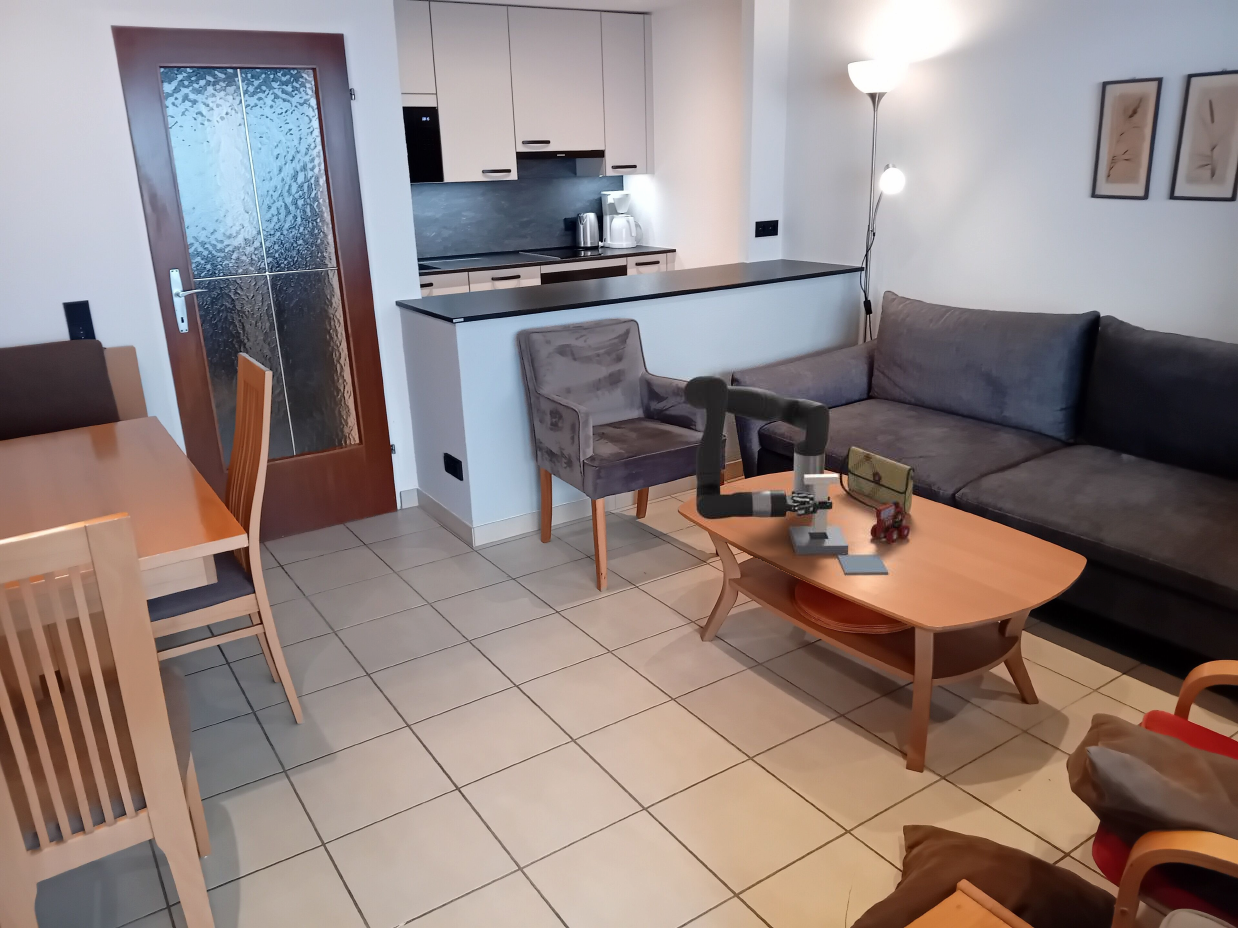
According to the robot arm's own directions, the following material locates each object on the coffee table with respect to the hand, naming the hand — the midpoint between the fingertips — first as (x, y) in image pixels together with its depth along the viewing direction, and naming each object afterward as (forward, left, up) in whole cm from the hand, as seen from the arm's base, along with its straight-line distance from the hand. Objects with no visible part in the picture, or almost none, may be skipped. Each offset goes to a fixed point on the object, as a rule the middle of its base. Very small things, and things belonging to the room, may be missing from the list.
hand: (830, 502), depth 243 cm
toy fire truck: (-17, +6, -13) cm, 22 cm away
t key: (+2, -1, -8) cm, 8 cm away
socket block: (+3, -1, -12) cm, 13 cm away
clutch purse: (-32, -17, -13) cm, 39 cm away
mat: (+2, +16, -12) cm, 20 cm away
